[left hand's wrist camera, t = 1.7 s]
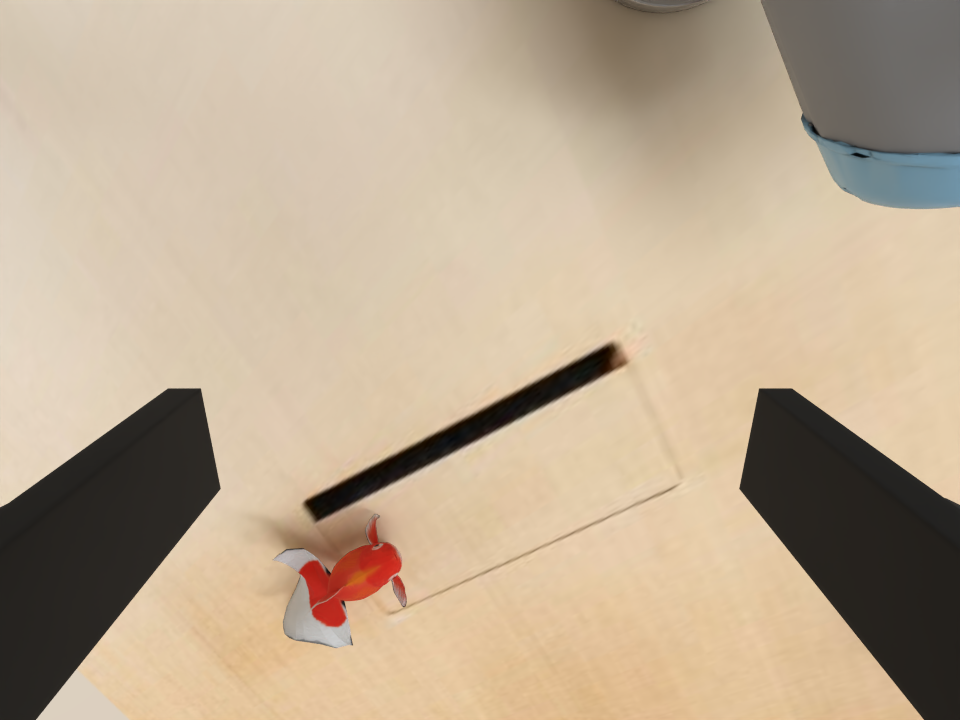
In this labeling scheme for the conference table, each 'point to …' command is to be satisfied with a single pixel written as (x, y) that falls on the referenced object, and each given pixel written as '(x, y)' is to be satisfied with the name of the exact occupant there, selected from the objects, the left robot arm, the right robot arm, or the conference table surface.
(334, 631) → the fish
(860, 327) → the conference table surface
